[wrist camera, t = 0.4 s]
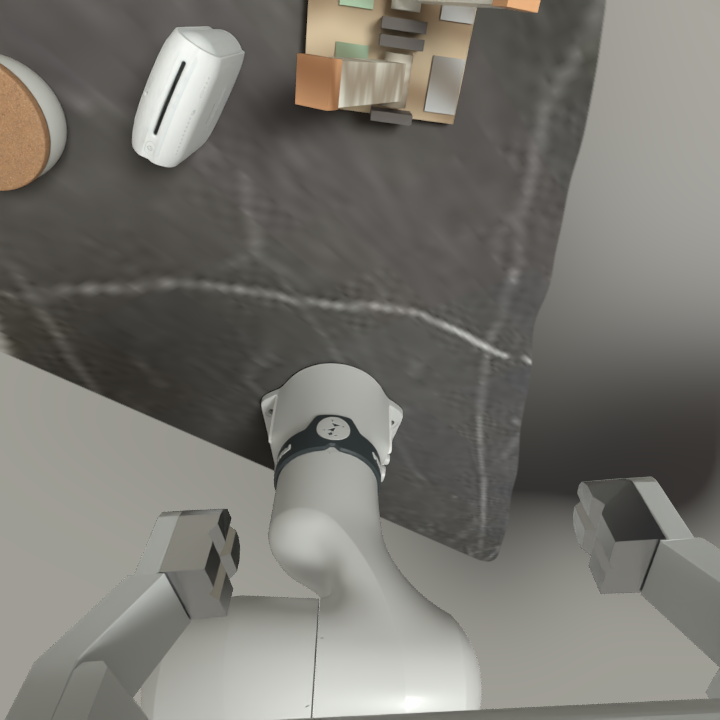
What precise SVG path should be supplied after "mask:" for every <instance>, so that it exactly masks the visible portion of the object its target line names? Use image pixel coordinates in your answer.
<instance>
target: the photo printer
mask: <svg viewBox="0 0 720 720" xmlns="http://www.w3.org/2000/svg"><path fill="white" fill-rule="evenodd" d="M244 54H245V52H244V51H243V50H241V47H240V44H239V43H238V41H237V40H236V38H235V37H234V36H233V35H231V34H230V33H229V32H227V31H225V30H221V29H212V28H211V27H208V26H202V27H177V28H175V29H174V31H173V32H172V33H171V34H170V36H169V37H168V38H167V40H166V41H165V43H164V45H163V47H162V49H161V51H160V53H159V55H158V57H157V59H156V62H155V64H154V66H153V68H152V71H151V73H150V76H149V78H148V81H147V83H146V86H145V89H144V91H143V94H142V97H141V100H140V103H139V106H138V109H137V112H136V116H135V119H134V126H133V132H132V146H133V148H134V150H135V151H136V152H137V153H138V154H139V155H140V156H143V157H145V158H147V159H149V160H150V161H151V162H152V163H154V164H157V165H159V166H163V167H175V166H177V165H178V164H179V163H181V162H182V161H183V160H185V159H186V158H187V157H189V156H190V155H191V154H192V153H194V152H195V151H196V150H197V149H199V148H200V147H201V146H202V145H203V144H204V143H205V142H206V141H207V139H208V138H209V136H210V134H211V133H212V131H213V129H214V127H215V125H216V123H217V121H218V119H219V117H220V115H221V113H222V110H223V108H224V106H225V104H226V102H227V99H228V97H229V95H230V93H231V90H232V88H233V86H234V83H235V81H236V78H237V76H238V74H239V71H240V68H241V66H242V62H243V58H244Z"/></svg>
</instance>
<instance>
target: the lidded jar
mask: <svg viewBox="0 0 720 720" xmlns="http://www.w3.org/2000/svg"><path fill="white" fill-rule="evenodd" d="M66 139H67V125H66V119H65V115H64V112H63V109H62V107H61V104H60V103H59V101H58V99H57V97H56V95H55V94H54V92H53V91H52V90H51V88H50V87H49V86H48V85H47V84H46V82H45V81H44V80H43V79H42V78H41V77H40V76H38V75H37V74H36V73H35V72H34V71H32V70H31V69H29V68H28V67H27V66H25V65H24V64H22V63H20V62H18V61H16V60H14V59H12V58H9V57H7V56H4V55H1V54H0V191H8V190H15V189H18V188H21V187H24V186H26V185H27V184H29V183H31V182H33V181H34V180H35V179H36V178H38V177H40V176H41V175H43V174H45V173H46V172H47V171H48V170H49V169H51V168H52V167H53V166H54V165H55V163H56V162H57V161H58V159H59V158H60V157H61V155H62V153H63V151H64V148H65V144H66Z"/></svg>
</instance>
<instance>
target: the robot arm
mask: <svg viewBox="0 0 720 720" xmlns="http://www.w3.org/2000/svg"><path fill="white" fill-rule="evenodd" d="M261 407H262V412H263V416H264V420H265V425H266V429H267V433H268V438H269V443H270V446H271V450H272V455H273V459H274V463H275V470H274V472H275V473H274V487H275V490H276V493H275V499H274V504H273V510H272V516H271V521H270V527H269V534H268V537H269V544H270V548H271V551H272V554H273V555H274V557H275V559H276V561H277V562H278V563H279V565H280V566H281V567H282V569H283V570H284V571H285V572H286V573H287V574H288V575H289V576H290V577H291V578H293V579H294V580H296V581H297V582H299V583H300V584H302V585H304V586H306V587H307V588H309V589H311V590H312V591H314V592H315V593H316V594H317V595H319V596H320V598H321V599H320V611H319V625H318V610H319V599H313V598H288V597H265V596H235V597H231V596H232V592H233V587H232V585H231V583H230V580H229V579H230V578H231V577H232V576H233V575H234V574H235V573H236V571H237V569H238V564H239V558H240V544H239V537H238V535H237V532H236V530H235V529H233V528H232V527H230V521H231V516H230V514H229V512H228V509H212V510H211V509H210V510H190V511H173V512H163V513H162V514H161V515H160V516H159V517H158V518H157V520H156V523H155V525H154V528H153V530H152V533H151V535H150V538H149V540H148V542H147V545H146V548H145V550H144V552H143V555H142V557H141V560H140V562H139V565H138V567H137V569H136V572H135V574H134V575H129V576H127V577H126V578H125V579H124V580H123V581H121V582H120V583H119V584H118V585H117V586H116V587H115V588H114V589H113V590H112V591H111V592H110V593H109V594H108V595H106V596H105V597H104V598H103V599H102V600H101V601H100V602H99V603H98V604H97V605H96V606H95V607H93V608H92V609H91V610H90V611H89V612H88V613H87V614H86V615H85V616H84V617H83V618H82V619H80V620H79V621H78V622H77V623H76V624H75V625H74V626H73V627H72V628H71V629H70V630H69V631H67V632H66V633H65V634H64V635H63V636H62V637H61V638H60V639H59V640H58V641H57V642H56V643H55V644H53V645H52V646H51V647H50V648H49V649H48V650H47V651H46V652H45V653H44V654H43V655H42V656H41V657H39V658H38V659H37V660H36V661H35V662H34V664H33V665H32V668H31V669H30V671H29V673H28V675H27V677H26V679H25V681H24V683H23V685H22V687H21V689H20V691H19V693H18V695H17V697H16V699H15V701H14V703H13V705H12V707H11V709H10V711H9V713H8V715H7V717H6V719H5V720H720V668H719V670H718V671H717V673H716V675H715V677H714V678H713V680H712V681H711V683H710V685H709V687H708V689H707V691H706V693H707V695H708V697H709V699H692V700H672V701H671V700H670V701H650V702H630V703H608V704H588V705H567V706H548V707H547V706H546V707H525V708H505V709H486V710H480V705H481V695H482V689H481V687H482V686H481V674H480V669H479V664H478V660H477V657H476V654H475V651H474V648H473V646H472V644H471V642H470V640H469V638H468V636H467V635H466V633H465V631H464V630H463V628H462V627H461V626H460V625H459V623H458V622H457V621H456V620H455V619H454V618H453V617H452V616H451V615H450V614H449V613H447V612H445V611H444V610H442V609H440V608H439V607H437V606H436V605H435V604H433V603H432V602H430V601H429V600H428V599H427V598H425V597H424V596H423V595H422V594H421V593H420V592H418V591H417V590H416V589H415V588H414V587H413V586H412V585H411V584H410V582H409V581H408V580H407V579H406V578H405V577H404V575H403V574H402V573H401V571H400V570H399V569H398V567H397V566H396V564H395V563H394V561H393V560H392V558H391V556H390V554H389V552H388V550H387V548H386V545H385V543H384V539H383V535H382V530H381V523H380V515H379V505H378V496H379V493H380V490H381V482H382V481H383V480H384V477H385V466H384V465H388V464H389V461H390V455H389V454H390V453H391V450H392V439H393V437H394V435H395V433H396V431H397V429H398V427H399V425H400V423H401V421H402V418H403V411H402V409H401V408H400V407H399V406H398V405H397V404H395V403H394V402H393V401H391V400H389V399H388V398H387V396H386V395H385V393H384V392H383V390H382V388H381V387H380V385H379V384H378V383H377V382H376V381H375V380H374V379H373V378H372V377H371V376H370V375H368V374H367V373H365V372H363V371H362V370H359V369H357V368H355V367H352V366H348V365H344V364H335V363H327V364H319V365H314V366H311V367H308V368H305V369H303V370H301V371H299V372H298V373H296V374H295V375H294V376H292V377H291V378H290V379H289V380H288V381H287V382H286V383H285V384H284V385H283V386H282V387H281V388H279V389H277V390H275V391H272V392H270V393H268V394H266V395H265V396H263V398H262V401H261ZM270 409H273V411H271V410H270ZM391 420H392V422H391ZM383 464H384V465H383ZM578 496H579V498H580V500H581V502H579V503H578V504H577V505H576V506H575V508H574V515H573V519H574V528H575V532H576V536H577V539H578V542H579V544H580V546H581V548H582V549H583V550H584V551H586V552H587V553H588V554H589V555H591V558H590V562H589V568H590V570H591V573H592V575H593V577H594V580H595V582H596V584H597V587H598V589H599V591H600V593H601V594H607V593H608V594H609V593H636V592H637V593H638V592H641V595H642V596H643V597H644V598H645V599H646V600H648V602H649V603H651V604H652V605H653V606H654V607H655V608H656V609H657V610H658V611H659V612H660V613H661V614H663V615H664V616H665V617H666V618H667V619H668V620H669V621H670V622H671V623H672V624H673V625H675V626H676V627H677V628H678V629H679V630H680V631H681V632H682V633H683V634H684V635H685V636H686V637H688V638H689V639H690V640H691V641H692V642H693V643H694V644H695V645H696V646H697V647H699V649H701V650H702V651H703V652H704V653H705V654H706V655H707V656H708V657H709V658H711V660H713V661H714V662H715V663H716V664H717V665H718V666H719V667H720V549H719V548H717V547H715V546H714V545H712V544H711V543H709V542H708V541H706V540H704V539H703V538H694V537H693V535H692V534H691V532H690V531H689V529H688V528H687V526H686V525H685V523H684V522H683V520H682V519H681V517H680V516H679V514H678V512H677V511H676V509H675V508H674V506H673V505H672V503H671V502H670V501H669V499H668V497H667V496H666V494H665V493H664V491H663V490H662V488H661V487H660V485H659V484H658V482H657V481H656V480H655V479H654V478H653V477H640V478H628V479H626V478H621V479H610V480H599V481H587V482H582V483H581V484H580V485H579V488H578ZM317 630H318V640H317ZM316 647H317V656H316ZM315 663H316V671H315ZM314 679H315V687H314ZM140 688H141V706H142V709H141V707H140V706H139V705H138V704H137V702H136V701H135V700H134V699H133V697H134V696H135V694H136V693H137V692H138V690H139V689H140ZM313 694H314V703H313ZM312 709H313V718H312Z"/></svg>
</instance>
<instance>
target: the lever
mask: <svg viewBox="0 0 720 720" xmlns="http://www.w3.org/2000/svg"><path fill="white" fill-rule="evenodd" d="M540 1H541V0H392V3H391V9H395V10H401V11H407V12H415V13H420V10H421V3H422V4H431V5H448V6H466V7H483V8H501V9H511V10H516V11H521V12H534V13H537V12H538V8H539V5H540Z"/></svg>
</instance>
